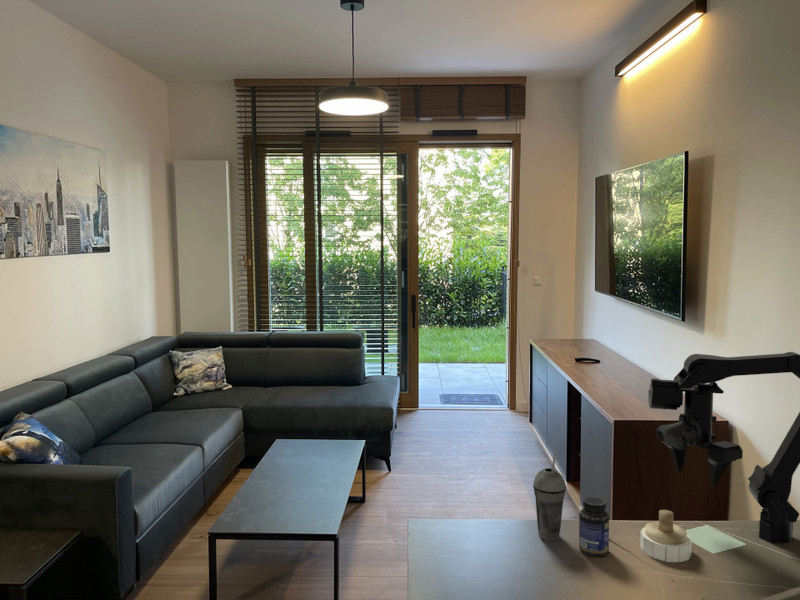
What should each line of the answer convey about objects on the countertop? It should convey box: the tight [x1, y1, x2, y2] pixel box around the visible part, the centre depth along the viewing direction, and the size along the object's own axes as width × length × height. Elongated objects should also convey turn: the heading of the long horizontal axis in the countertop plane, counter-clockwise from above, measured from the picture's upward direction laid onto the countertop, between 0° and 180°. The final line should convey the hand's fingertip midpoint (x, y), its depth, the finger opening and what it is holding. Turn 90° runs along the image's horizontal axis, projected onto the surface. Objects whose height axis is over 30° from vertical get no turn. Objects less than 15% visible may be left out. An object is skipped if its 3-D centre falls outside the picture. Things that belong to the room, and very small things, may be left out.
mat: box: [684, 524, 748, 554], centre depth 131 cm, size 10×10×1 cm
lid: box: [644, 509, 687, 545], centre depth 125 cm, size 8×8×5 cm
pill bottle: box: [578, 496, 610, 558], centre depth 127 cm, size 6×6×11 cm
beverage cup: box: [532, 449, 567, 542], centre depth 133 cm, size 7×7×20 cm
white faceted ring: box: [639, 526, 693, 563], centre depth 126 cm, size 10×10×4 cm
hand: (696, 478), depth 135 cm, fingers open, 9 cm apart
